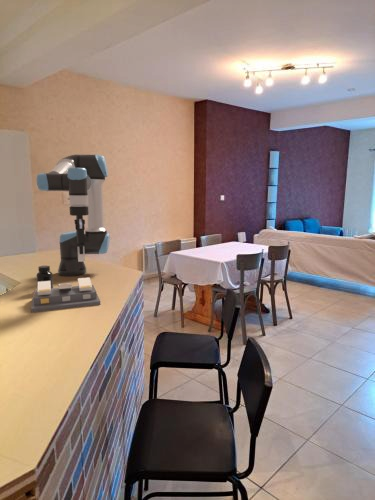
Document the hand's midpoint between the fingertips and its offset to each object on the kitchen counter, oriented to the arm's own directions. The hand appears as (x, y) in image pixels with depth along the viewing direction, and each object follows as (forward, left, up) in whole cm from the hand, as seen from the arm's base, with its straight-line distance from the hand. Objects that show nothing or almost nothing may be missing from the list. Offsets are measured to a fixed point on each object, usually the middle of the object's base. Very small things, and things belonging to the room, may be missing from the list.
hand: (81, 261), depth 150 cm
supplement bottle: (-15, -15, -16) cm, 27 cm away
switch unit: (+4, -7, -16) cm, 18 cm away
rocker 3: (+3, +1, -10) cm, 10 cm away
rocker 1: (+3, -15, -10) cm, 18 cm away
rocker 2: (+3, -7, -10) cm, 12 cm away
